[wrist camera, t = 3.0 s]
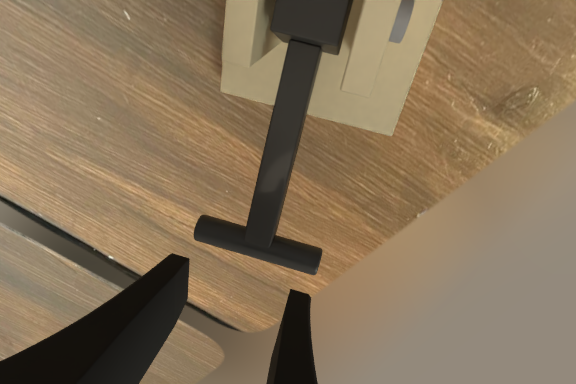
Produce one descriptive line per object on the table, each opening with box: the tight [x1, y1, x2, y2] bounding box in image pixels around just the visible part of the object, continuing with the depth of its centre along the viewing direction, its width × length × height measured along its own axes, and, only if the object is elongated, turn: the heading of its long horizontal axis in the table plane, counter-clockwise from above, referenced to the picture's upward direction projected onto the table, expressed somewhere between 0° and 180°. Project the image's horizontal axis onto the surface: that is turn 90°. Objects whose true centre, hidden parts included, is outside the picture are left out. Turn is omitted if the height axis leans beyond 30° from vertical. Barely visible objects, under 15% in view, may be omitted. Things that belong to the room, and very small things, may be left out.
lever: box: [194, 0, 353, 275], centre depth 13 cm, size 11×5×2 cm, turn 169°
